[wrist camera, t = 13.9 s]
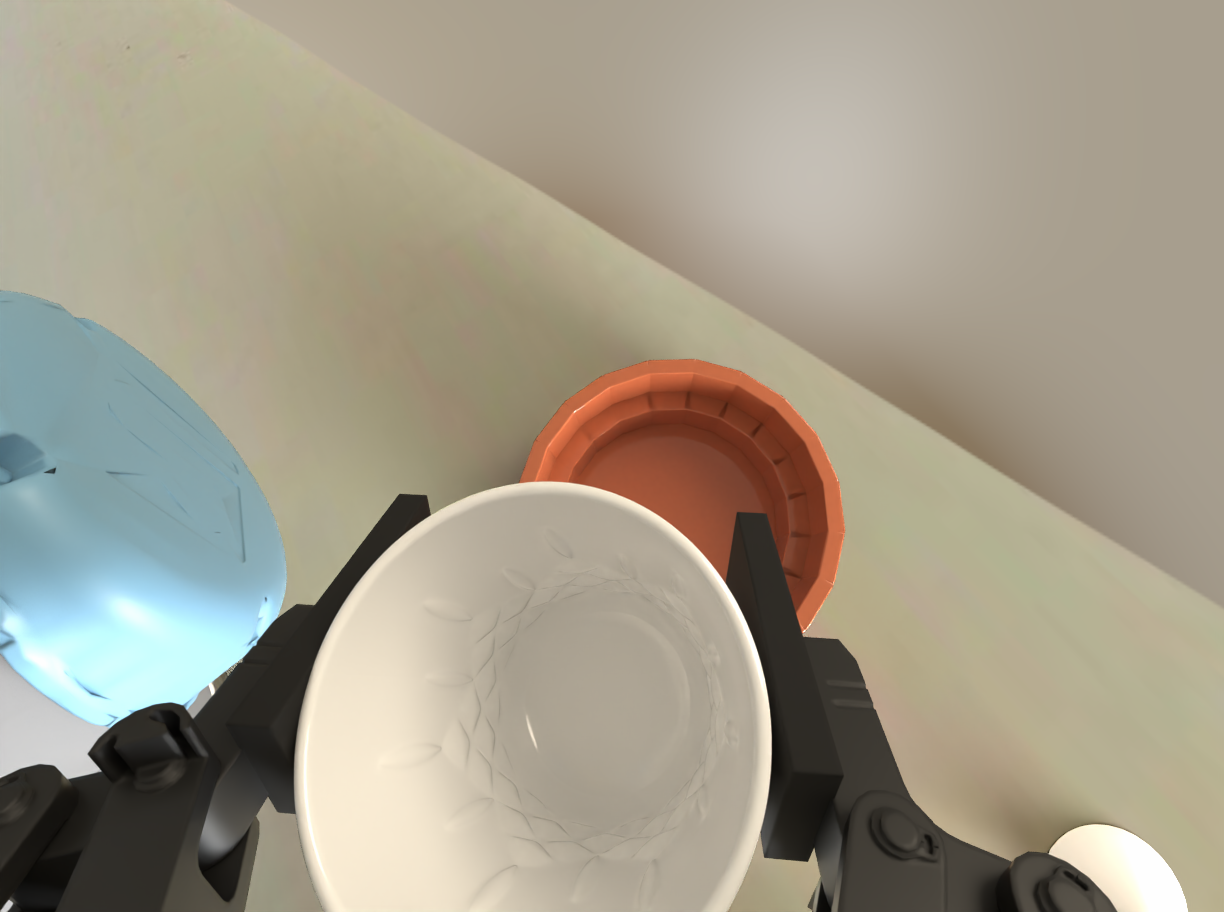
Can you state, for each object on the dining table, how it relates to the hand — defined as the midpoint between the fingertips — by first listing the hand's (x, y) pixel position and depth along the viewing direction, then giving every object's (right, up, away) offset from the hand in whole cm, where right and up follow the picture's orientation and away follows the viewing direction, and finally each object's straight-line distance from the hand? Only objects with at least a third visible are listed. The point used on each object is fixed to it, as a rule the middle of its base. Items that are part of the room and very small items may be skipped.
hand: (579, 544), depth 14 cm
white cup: (+1, -6, +3) cm, 7 cm away
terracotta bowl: (+4, -2, +17) cm, 17 cm away
